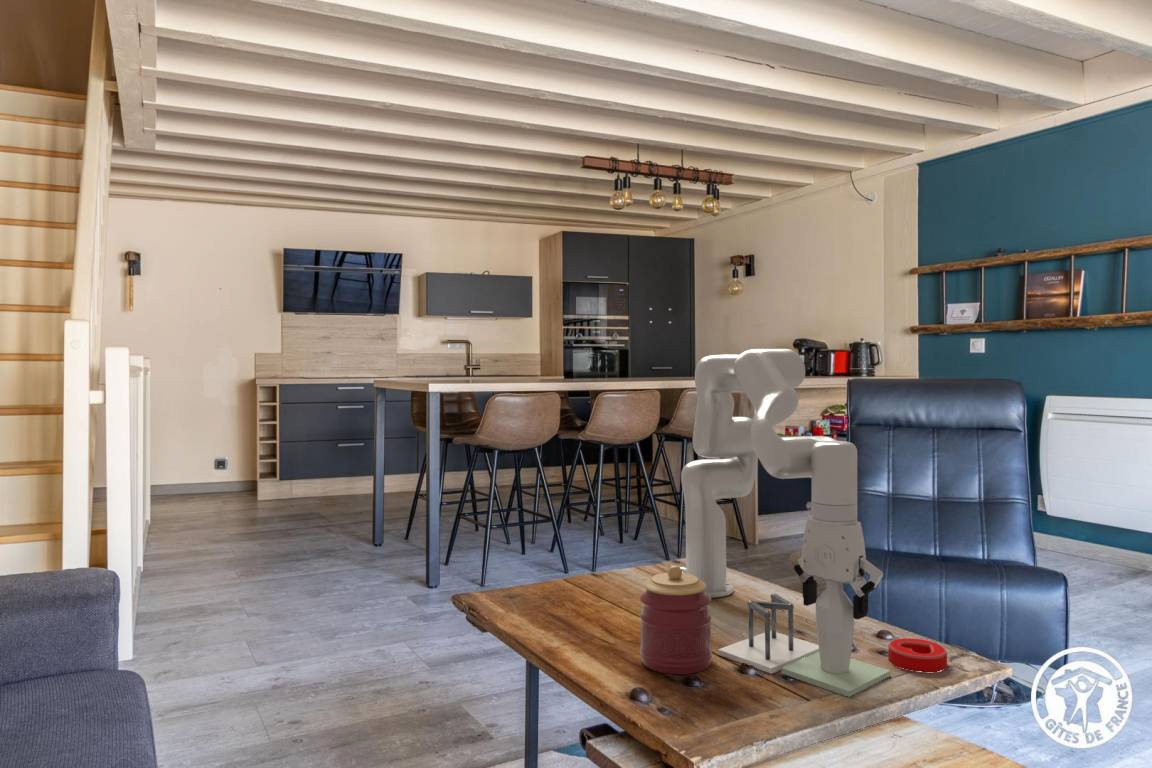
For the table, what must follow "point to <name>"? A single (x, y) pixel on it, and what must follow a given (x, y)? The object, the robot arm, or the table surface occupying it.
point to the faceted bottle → (834, 628)
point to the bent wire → (761, 608)
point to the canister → (675, 623)
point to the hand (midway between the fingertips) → (834, 610)
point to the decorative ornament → (917, 655)
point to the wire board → (777, 652)
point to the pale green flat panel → (836, 675)
